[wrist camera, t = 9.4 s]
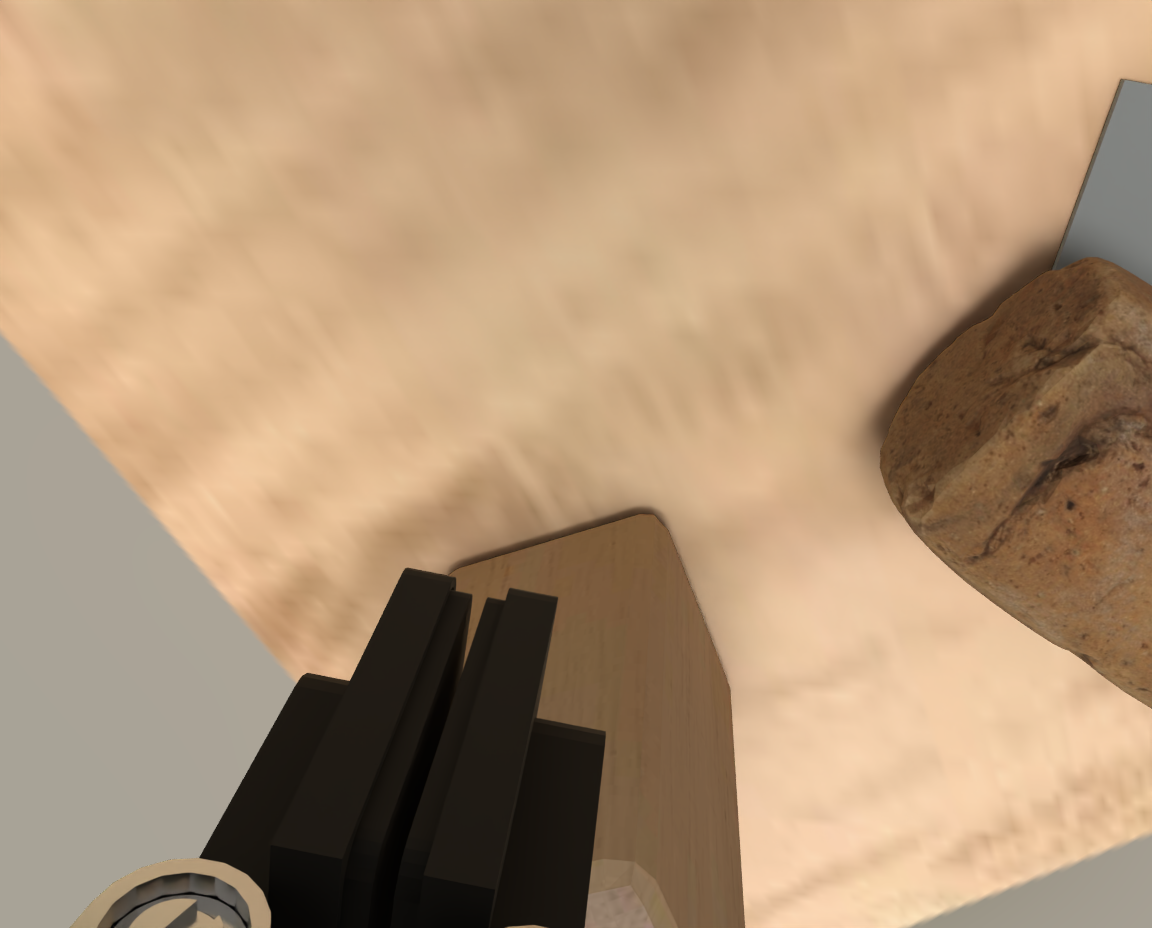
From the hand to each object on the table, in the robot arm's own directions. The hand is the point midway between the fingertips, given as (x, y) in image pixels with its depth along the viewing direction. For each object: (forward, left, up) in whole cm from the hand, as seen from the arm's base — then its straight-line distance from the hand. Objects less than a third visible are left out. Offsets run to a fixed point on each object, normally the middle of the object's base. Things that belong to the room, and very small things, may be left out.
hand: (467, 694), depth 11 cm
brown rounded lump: (+2, +12, -24) cm, 27 cm away
